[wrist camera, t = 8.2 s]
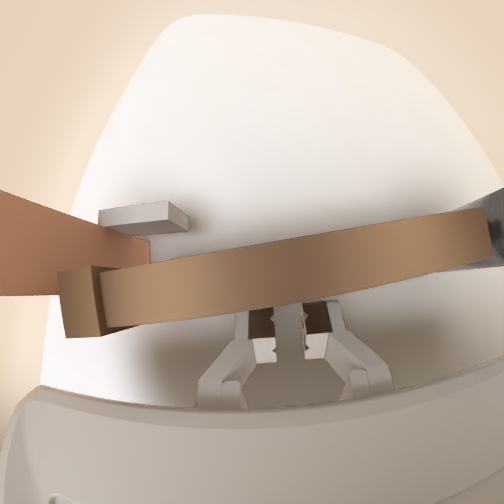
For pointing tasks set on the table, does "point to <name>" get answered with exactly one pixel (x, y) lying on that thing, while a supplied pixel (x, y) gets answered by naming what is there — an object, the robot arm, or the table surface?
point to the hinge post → (500, 229)
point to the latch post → (74, 241)
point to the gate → (269, 273)
